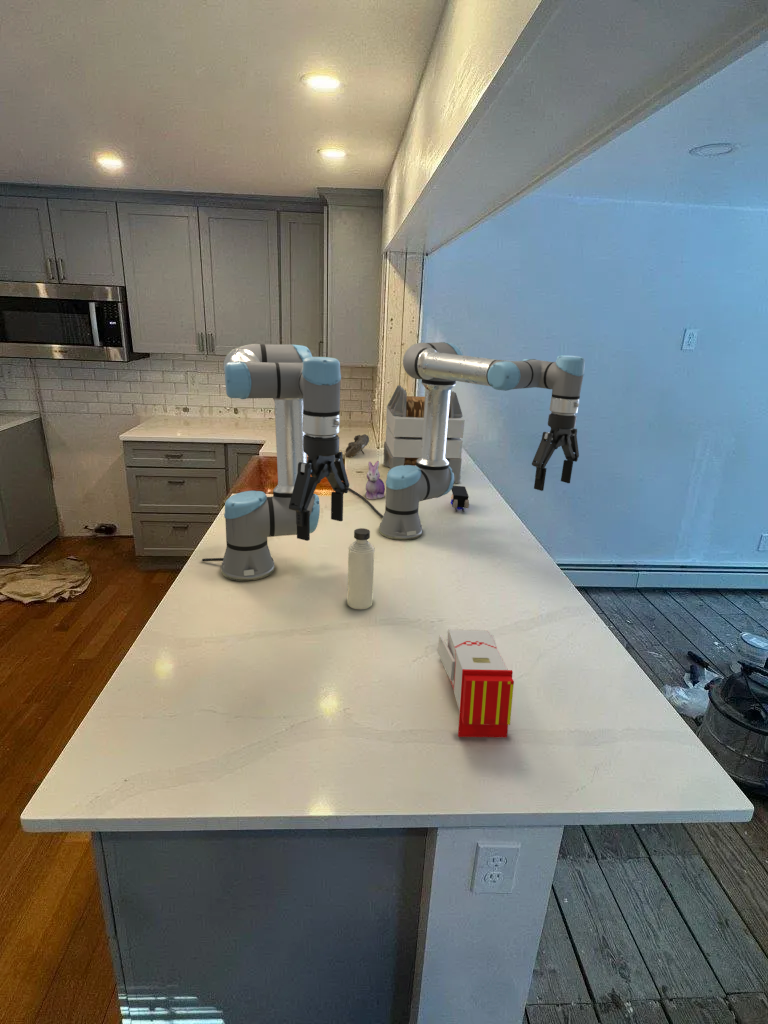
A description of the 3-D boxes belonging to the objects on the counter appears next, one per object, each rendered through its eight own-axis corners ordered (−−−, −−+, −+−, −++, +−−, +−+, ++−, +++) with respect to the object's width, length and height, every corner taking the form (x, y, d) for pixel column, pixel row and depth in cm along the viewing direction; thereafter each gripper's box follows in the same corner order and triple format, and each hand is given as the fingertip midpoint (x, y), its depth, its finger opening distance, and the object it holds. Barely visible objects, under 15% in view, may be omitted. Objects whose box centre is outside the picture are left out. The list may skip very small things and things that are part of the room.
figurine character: (469, 517, 223) (463, 501, 236) (471, 500, 219) (465, 484, 233) (452, 516, 222) (447, 500, 236) (454, 499, 219) (449, 483, 232)
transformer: (382, 463, 289) (386, 382, 275) (445, 464, 293) (451, 384, 279) (390, 482, 257) (394, 392, 243) (460, 483, 261) (468, 394, 247)
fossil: (345, 440, 315) (366, 425, 310) (356, 453, 318) (377, 439, 313) (338, 454, 296) (361, 438, 291) (350, 468, 298) (372, 452, 293)
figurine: (370, 501, 232) (371, 465, 226) (359, 493, 240) (360, 459, 235) (390, 498, 236) (392, 463, 231) (379, 491, 244) (380, 457, 239)
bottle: (375, 599, 154) (378, 530, 147) (367, 611, 148) (369, 539, 141) (352, 595, 156) (354, 526, 149) (343, 606, 150) (345, 535, 143)
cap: (371, 535, 147) (372, 529, 146) (366, 541, 143) (366, 535, 143) (357, 533, 148) (357, 527, 147) (351, 538, 144) (351, 532, 144)
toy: (488, 613, 130) (523, 677, 101) (484, 667, 133) (517, 744, 104) (435, 612, 130) (455, 676, 101) (432, 666, 133) (451, 743, 103)
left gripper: (302, 448, 106) (302, 552, 113) (365, 427, 127) (362, 515, 134) (269, 442, 109) (272, 544, 116) (337, 422, 130) (335, 510, 137)
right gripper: (548, 419, 148) (537, 496, 155) (598, 411, 163) (586, 482, 171) (525, 414, 153) (515, 489, 160) (575, 407, 169) (564, 476, 176)
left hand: (320, 529), depth 125 cm, fingers open, 13 cm apart
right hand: (552, 485), depth 166 cm, fingers open, 13 cm apart
